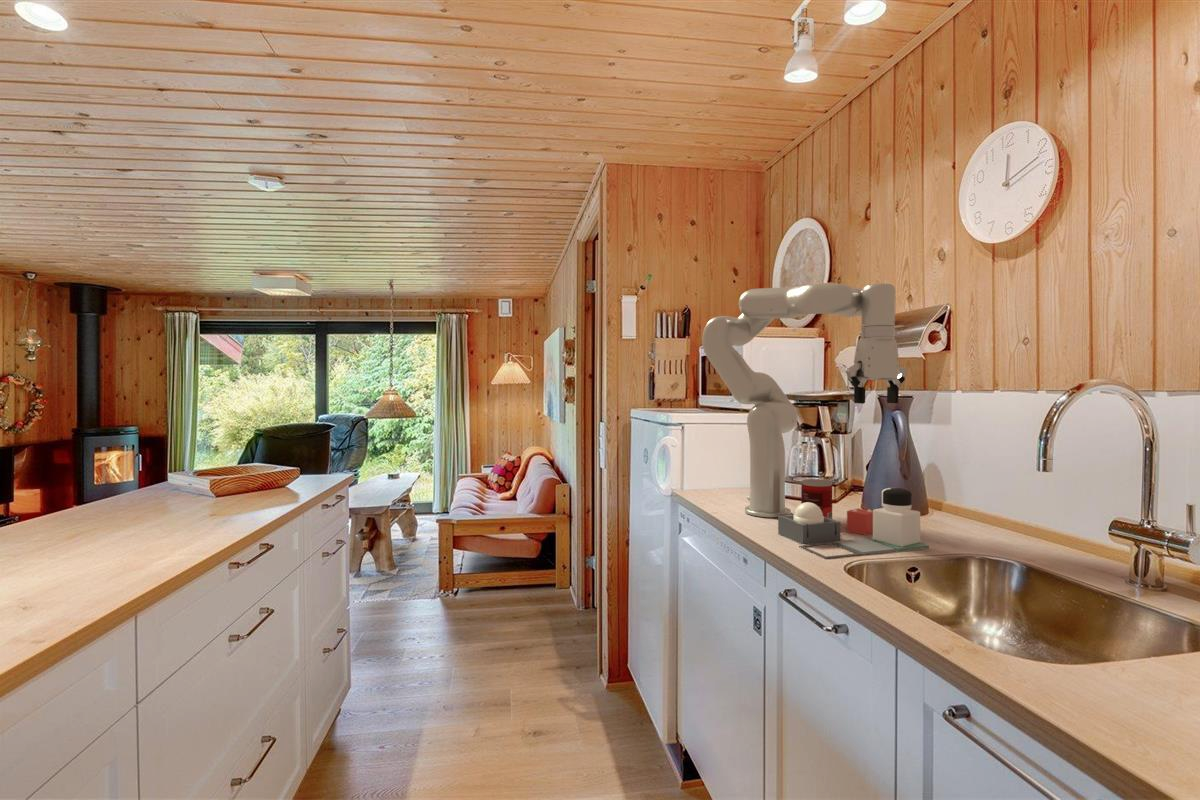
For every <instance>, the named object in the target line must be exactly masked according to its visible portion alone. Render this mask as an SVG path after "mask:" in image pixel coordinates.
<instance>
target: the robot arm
mask: <svg viewBox="0 0 1200 800" xmlns="http://www.w3.org/2000/svg"><path fill="white" fill-rule="evenodd" d="M738 309H739V311H740V312H741V314H740V315H739V316H738V317H735V316H730V315H719V316H715V317H712V318H711V319H710V320H709V321H708V322H706V325H705V326H704V328H703V331H702V336H701V344H702V349H703V351H704V354H705V356H706V358H707V360H708V361H709V363H710V364H711V365H712V366H713V368H714V369H715V371H716V372H717V374H718V376H720V379H721V380H722V382H723V383H724V384H725V386H726V387H727V389H728V391H729V392H730V393H731V395H732V396H733V398H734V399H735V401H736V402H738V403H740V404H742V405H753V406H752V408H750V410H749V411H748V414H747V419H746V426H747V427H746V428H747V431H748V432H747V433H748V439H749V464H750V465H749V468H750V469H749V470H750V471H749V476H750V477H749V479H750V481H749V485H750V488H749V491H750V492H749V493H750V494H749V495H748V496H747V497H746V499H747V501H749V505H747V506H745V507H744V513H746V514H747V515H750V516H754V517H761V518H778V516H781V515H782V516H784V515H792V511H791V508H789V507H787V506H786V450H785V442H784V437H783V434H786V433H790V432H791V431H792V430H793V429H794V428H795V427H796V425H797V423H798V413H797V410H796V408H795V407H794V404H792V402H791V401H790V399H789V397H788V396H787V394H785V392H784V391H783V390H782V388H781V387H780V385H779V384H778V383H777V381H776V380H775V379H774V378H772V376H770V375H769V374H768V373H765V372H756V371H754V370H753V369H752V368H751V367H750V366H749V364H748V363H747V362H746V360H745V358H743V355H742V354H740V353H739V351H737V349H735V348H734V346H735V347H741V346H744V345H747V344H749V343H750V342H751V341H752V340H753V339H754V338H756V337H757V336H758V335H759V334H761V332H762V331H763V330H764V329H766V328H767V327H768V326H769V324H771V323H772V322H773V321H774V320H775V319H797V318H798V317H799V316H801V315H802V316H803V315H819V314H820V315H821V314H822V315H828V314H829V315H837V316H841V317H845V318H854V317H859V316H860V317H861V318H860V319H861V321H860V339H858V340H857V343H856V347H855V352H854V357H853V359H854V360H853V364H852V365H851V366H849V367H847V368H846V369H845V373H846V376H847V378H848V379H847V380H848V382H849V383H850V384H851V386H852V388H854V390H853V398H854V400H853V403H854V404H859V405H860V404H865V403H866V387H864V386H865V384H866V383H867V382H868V380H871V381H872V380H873V381H875V380H878V381H879V380H882V381H883V380H885V381H886V383H887V385H888V387H887V388H886V402H887V403H888V404H898V403H899V389H900V388H901V387H902V385H903V382H905V380H906V376H907V374H908V372H909V371H908V369H907V368H905V367H904V366H902V365H900V364H899V363H900V361H899V350H898V343H897V339H895V336H897V335H898V331H897V330H896V328H895V327H896V325H895V324H896V323H895V322H896V287H895V285H893V284H892V283H886V282H883V283H881V282H879V283H872V284H868V285H864V287H863V288H857V287H854V286H850V285H848V284H845V283H843V284H842V283H820V284H807V285H799V286H798V285H796V286H787V287H763V288H751V289H748V290H745V291H744V292H743V293H742V294H741V295H740V297H739V299H738Z"/></svg>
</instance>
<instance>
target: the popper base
mask: <svg viewBox="0 0 1200 800" xmlns="http://www.w3.org/2000/svg"><path fill="white" fill-rule="evenodd" d="M777 518H778V519H777V520H778V521H777V523H778V524H777V526H778V527H777V530H778V531H777V532H778V533H777V534H778V535H779V534H780V536H782V535H783V536H782V537H784V536H785V537H784V538H786V537H787V539H789V538H790V539H789V540H791V539H792V540H791V541H793V540H794V541H793V542H795V541H796V543H798V542H799V543H798V544H800V543H801V544H800V545H802V544H806V545H813V544H824V543H835V541H841V521H839V520H836V519H833V518H832V519H830V518H827V517H824V522H821V523H808V524H803V523H801V522H798V521H795V520H794V514H790V515H784V516H782V515H781V516H778V517H777Z"/></svg>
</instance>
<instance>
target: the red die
mask: <svg viewBox="0 0 1200 800" xmlns="http://www.w3.org/2000/svg"><path fill="white" fill-rule="evenodd" d="M846 531H847V532H850V533H854V534H859V535H863V536H869V535H871V534H872V535H873V510H871V509H863V508H860V507H859V508H853V509H850V510H846ZM868 534H869V535H868Z"/></svg>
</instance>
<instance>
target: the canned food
mask: <svg viewBox="0 0 1200 800" xmlns="http://www.w3.org/2000/svg"><path fill="white" fill-rule="evenodd" d="M800 485H801V491H800V492H801V494H800V498H801V502H800V504H802V503H805V502H810V503H814V504H816V505H817V506H818V507H819V508H820V509H821V511H822V514H823V516H824V517H827V518H830V519H833V482H832V481H831V480H827V479H818V478H817V479H815V478H814V479H813V478H808V479H807V478H806V479H803V480H801V484H800Z"/></svg>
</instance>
